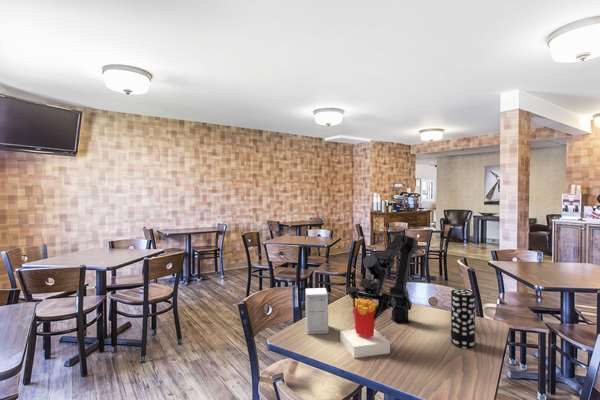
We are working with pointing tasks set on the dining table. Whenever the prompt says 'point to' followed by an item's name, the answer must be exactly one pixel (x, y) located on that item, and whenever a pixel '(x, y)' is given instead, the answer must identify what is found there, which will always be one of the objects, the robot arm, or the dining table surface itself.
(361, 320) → the french fries
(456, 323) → the white-spotted black cylinder
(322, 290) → the supplement box
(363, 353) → the white flat square block
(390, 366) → the dining table surface
